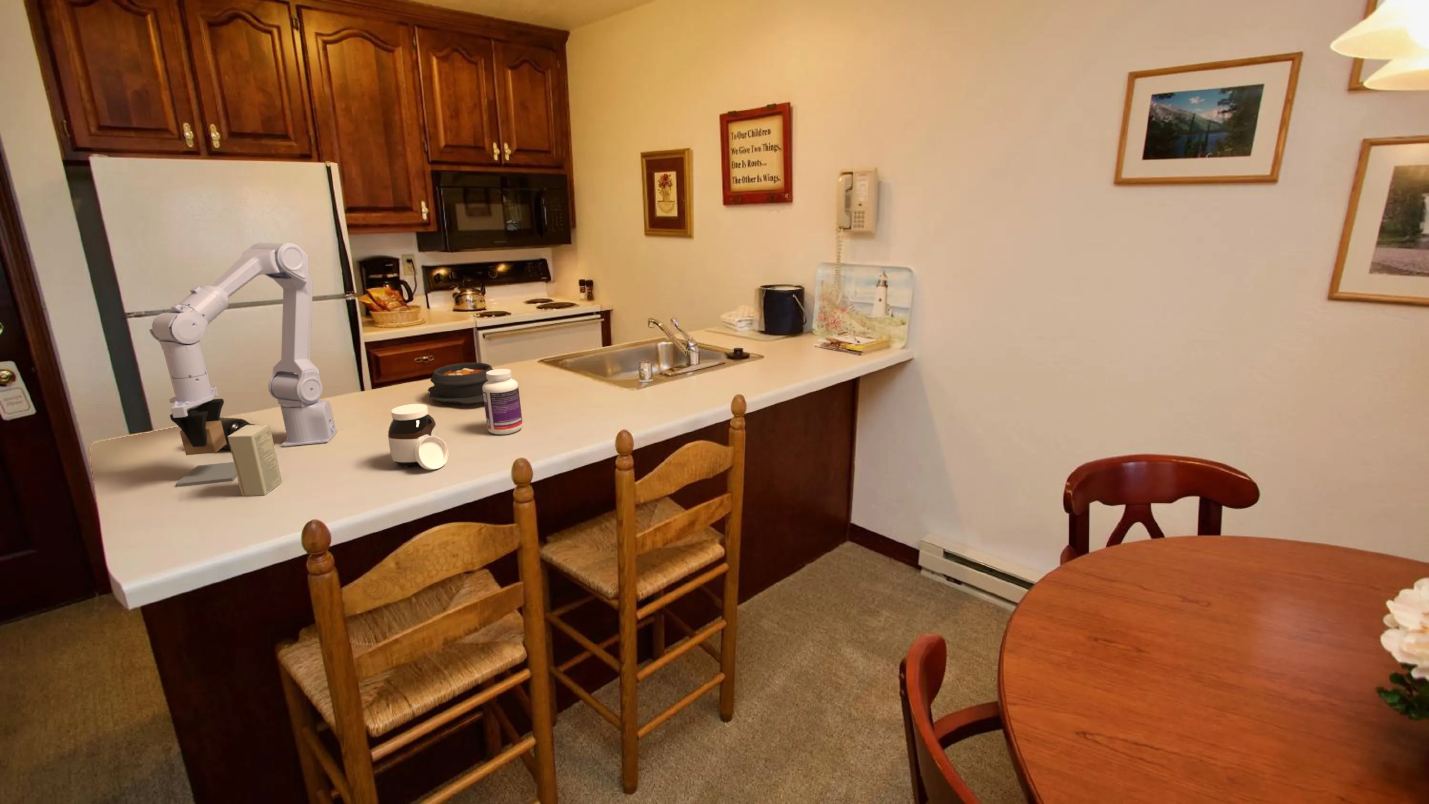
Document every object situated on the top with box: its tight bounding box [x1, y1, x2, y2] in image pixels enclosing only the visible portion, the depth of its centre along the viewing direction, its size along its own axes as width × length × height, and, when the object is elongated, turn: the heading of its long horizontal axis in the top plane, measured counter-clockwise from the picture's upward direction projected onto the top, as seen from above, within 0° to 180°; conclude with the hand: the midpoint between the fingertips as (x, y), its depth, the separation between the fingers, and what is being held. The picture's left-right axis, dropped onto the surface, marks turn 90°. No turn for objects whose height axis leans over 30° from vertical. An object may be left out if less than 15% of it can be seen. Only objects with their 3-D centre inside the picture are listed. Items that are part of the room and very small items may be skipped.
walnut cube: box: [179, 421, 227, 456], centre depth 130 cm, size 5×5×5 cm
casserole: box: [427, 362, 494, 405], centre depth 181 cm, size 25×19×8 cm
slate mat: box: [174, 461, 238, 488], centre depth 133 cm, size 10×10×1 cm
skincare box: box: [228, 424, 283, 497], centre depth 124 cm, size 6×4×12 cm
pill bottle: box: [482, 368, 523, 436], centre depth 154 cm, size 8×8×14 cm
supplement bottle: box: [220, 416, 256, 450], centre depth 146 cm, size 7×7×12 cm
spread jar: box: [387, 403, 449, 471], centre depth 136 cm, size 12×11×12 cm
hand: (206, 441), depth 131 cm, fingers closed on walnut cube, 5 cm apart
